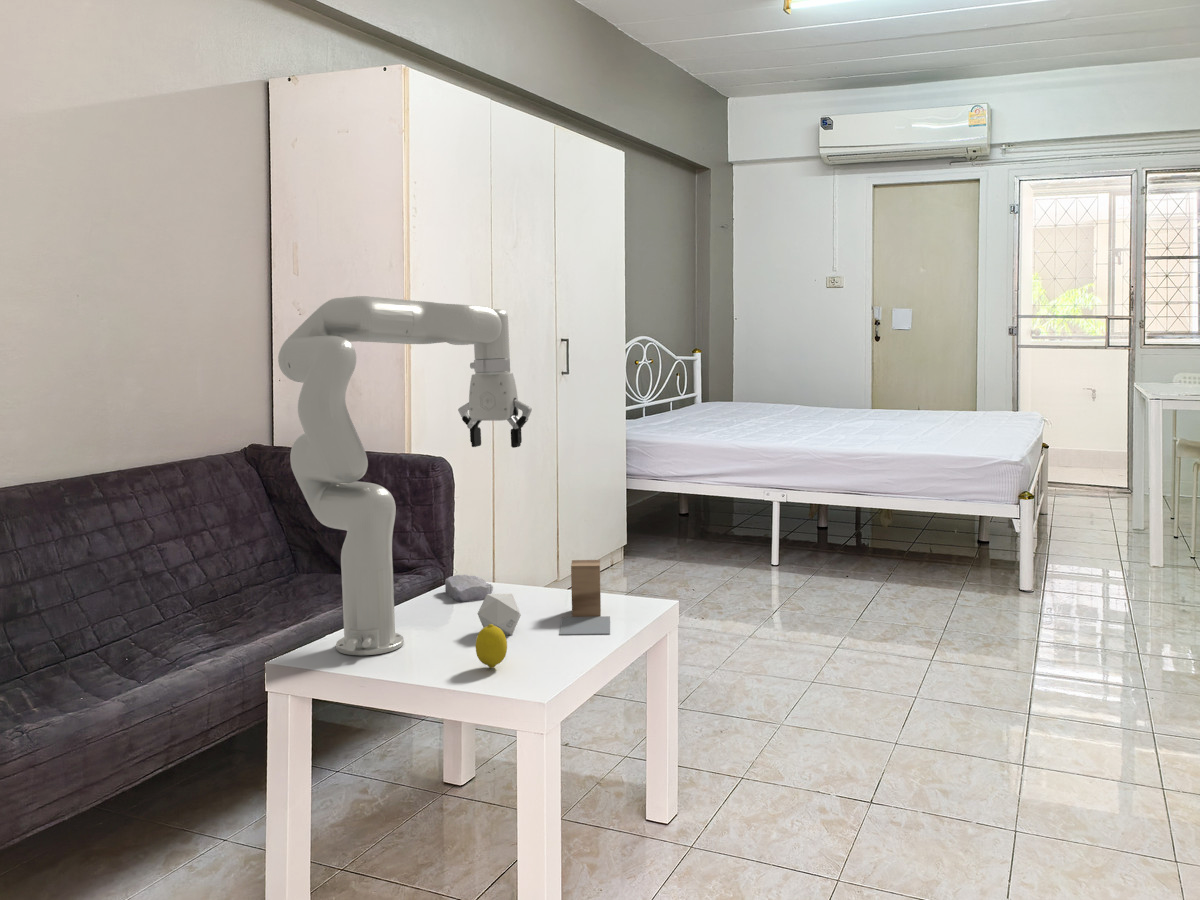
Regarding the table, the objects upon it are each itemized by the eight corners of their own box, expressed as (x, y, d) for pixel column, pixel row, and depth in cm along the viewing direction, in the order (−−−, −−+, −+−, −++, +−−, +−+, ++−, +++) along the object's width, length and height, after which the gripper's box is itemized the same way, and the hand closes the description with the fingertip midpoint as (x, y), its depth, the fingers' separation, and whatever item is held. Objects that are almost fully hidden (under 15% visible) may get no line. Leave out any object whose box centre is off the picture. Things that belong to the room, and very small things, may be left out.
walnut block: (600, 617, 205) (599, 565, 204) (572, 617, 205) (571, 566, 204) (600, 609, 211) (599, 559, 210) (573, 609, 211) (572, 559, 210)
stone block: (480, 595, 233) (440, 591, 229) (484, 575, 233) (444, 571, 229) (496, 608, 223) (454, 605, 218) (500, 587, 222) (458, 584, 218)
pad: (610, 634, 192) (610, 633, 192) (559, 635, 192) (559, 634, 192) (610, 617, 204) (610, 616, 204) (562, 617, 204) (562, 616, 204)
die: (503, 645, 188) (529, 602, 190) (465, 622, 189) (491, 579, 191) (506, 648, 196) (531, 606, 198) (470, 626, 197) (495, 585, 199)
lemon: (508, 663, 175) (507, 619, 174) (506, 673, 169) (505, 628, 169) (477, 663, 175) (476, 620, 174) (474, 673, 169) (473, 628, 169)
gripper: (448, 368, 208) (452, 448, 210) (520, 367, 202) (524, 449, 204) (466, 367, 215) (469, 444, 217) (536, 366, 209) (539, 445, 211)
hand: (496, 446), depth 211 cm, fingers open, 9 cm apart
